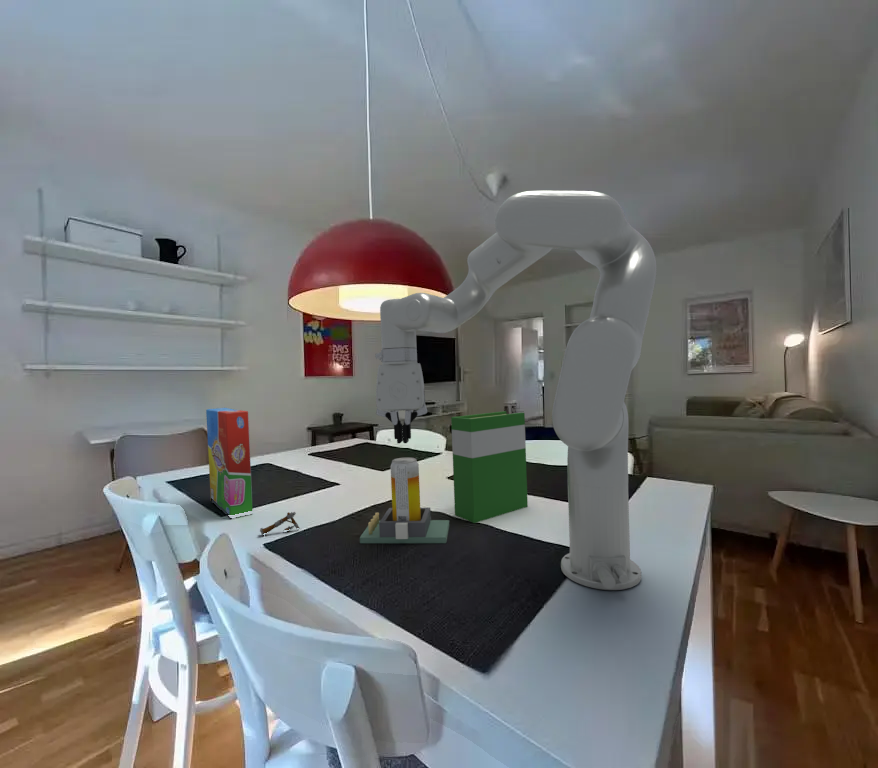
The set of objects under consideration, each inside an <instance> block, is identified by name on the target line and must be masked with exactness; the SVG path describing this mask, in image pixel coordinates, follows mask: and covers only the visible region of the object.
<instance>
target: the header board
mask: <svg viewBox="0 0 878 768" xmlns="http://www.w3.org/2000/svg"><path fill="white" fill-rule="evenodd" d="M420 511H421V521H393V513H392V507H388V509H387V510H386V512H385V513H384V515H383V516H382V518H381V519H380V513H379V512H374V513H375V515H372V518H371V519H370V521H368V525H367V526H366V528H365V530H363V533H362V534H361V535H360V537H359V544H447V541H448V536H449V531H450V520H449V519H447V520H446V519H432V517H431V515H432V514H431V513H432V512H431V507H420Z"/></svg>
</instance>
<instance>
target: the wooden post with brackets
mask: <svg viewBox="0 0 878 768" xmlns="http://www.w3.org/2000/svg"><path fill="white" fill-rule="evenodd" d="M286 513H287V514H286V515H285V517H283V518H280V519H279V520H277V521H276V522H274V523H273V524H271V525H269V526H267V527H265V528H263V527H261V528H260V529H259V532H260V533H261V535H262V534H264V533H267V532H268V533H269V532H271V531H272V530H274V529H275V528H278V527H279V526H281V525H282V524H284V523H286V522H288V523H291V524H293V525H291V526H290V525H288V527H286V528H284V530H289V529H291V530H292V529H294V528H296V529H297V528H299V529H300V526H299V524H298V523H297V521H296V520H295V518H294V517H295V516H296V511H293V512H292V511H291V512H286ZM284 530H283V531H284ZM268 533H267V534H268Z"/></svg>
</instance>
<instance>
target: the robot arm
mask: <svg viewBox="0 0 878 768" xmlns="http://www.w3.org/2000/svg"><path fill="white" fill-rule="evenodd" d="M628 221H629V220H628V219H627V218H626V216H625V212H624V210H623V207H622V206H621V205H620V203H619V202H618V201H617V200H616V198H614V197H612V196H610V195H608V194H606V193H603V192H600V191H593V190H589V191H588V190H527V191H526V190H525V191H522V192H517V193H514V194H513V195H511V196H509V197H508V198H507V199H505V200H504V201H503V203H501V204H500V206H499V208H498V209H497V211H496V214H495V218H494V226H495V231H496V232H495V233H493V234H492V235H490V236H489V237H488V238H487V239H486V240H485V241H484V242H483V241H482V243H481V244H480V245H478V246H477V247H475V249H472V250H471V252H469V253H468V255H467V259H466V260H467V262H466V263H467V266H468V272H467V275H466V277H465V278H464V280H463V282H462V283H461V284H460V285H458V286H457V287H456V288H455V289H454V290H453V291H451V292H450V293H448V294H447V295H445V296H444V297H442V296H438V295H434V294H429V293H426V292H416V293H412V294H409V295H406V296H405V297H402V298H393V299H392V298H390V299H387V300H384V301H382V302H381V304H380V307H379V314H380V315H379V316H380V338H381V340H380V341H381V349H380V352H377V353H375V356H374V357H375V360H379V361H381V364H378V367H377V373H376V375H377V376H376V385H375V386H376V388H375V389H376V390H375V404H376V413H375V414H376V415H377V416H379V417H383V418H386V419H387V420H388V421H390V422H391V424H392V425H393V437H394V440H396V444H398V445H399V444H401V443H402V442H403V444H408V442H409V441H410V440H411V439H412V426H411V424H412V422H414V420H415V419H416V418H417V417H419V416H423V415H426V414H427V413H428V408H427V405H426V393H425V392H426V391H425V383H424V382H425V381H424V376H423V371H422V370H423V369H422V365H421V363H420V362H419V363H418V353H417V352H418V350H417V331H420V332H431V333H436V334H437V333H438V334H446V333H448V332H452V331H454V330H455V329H457V328H459V327H460V326H462V325H463V324H464V323H466V322H468V321H469V320H470V319H472V318H473V317H475V316H476V315H477V314H478V313H479V312H480V311H481V310H482V309H483V308H484V307H485V305H486V304H487V303H488V302H489V300H490V299H491V298H492V296H493V295H494V293H495V292H496V291H497V290H498V289H499V288H501V287H503V285H505V284H506V283H508V282H509V281H510V280H512V279H513V278H515V277H516V276H517V275H518V274H520V273H522V272H523V271H524V270H526V269H528V268H529V267H530V266H532V265H533V264H535V263H536V262H537V261H538V260H540V259H541V258H543V257H545V256H546V255H547V254H548V253H550V251H552V250H553V249H555V250H556V249H558V250H567V251H575V253H576V254H578V256H580V257H581V258H582V259H583V260H584V261H585V262H587V263H589V264H591V265H592V266H594V267H596V268H597V270H598V272H599V280H598V282H597V286H596V287H595V288H596V289H595V292H594V296H593V303H592V308H591V311H590V314H589V318H587V319H585V320H584V321H582V322H581V323H580V324H579V325H578V326H576V327H575V329H574V330H573V332H572V333H571V335H570V337H569V339H568V340H567V345H566V347H565V351H564V355H563V359H562V364H561V369H560V373H559V378H558V382H557V386H556V390H555V396H554V400H553V406H552V410H551V422H552V427H553V430H554V432H555V434H556V436H557V437H558V439H559V440H560V441H561V442H562V443H563V444H564V445H566V446H567V460H566V461H567V462H566V463H567V468H566V469H567V499H568V508H567V509H568V531H569V534H568V535H569V553H566V554H565V555H564V556H563V557H562V558H561V561H560V568H561V572H562V573H563V575H565V576H566V577H567V578H568V579H569V580H571V581H573V582H574V583H577V584H579V585H581V586H585V587H588V588H592V589H597V590H603V591H621V590H628V589H630V588H633V587H635V586H636V585H638V584H640V582H641V580H642V571H641V568H640V566H639V565H638V564H637V563H636V562H635V561H634V560H632V559H631V541H630V540H631V539H630V508H629V507H630V506H629V458H628V457H629V412H628V408H627V407H628V406H627V405H626V402H625V398H626V395H627V390H628V387H629V383H630V379H631V374H632V370H633V369H634V368H635V367H636V365H637V364H638V362H639V360H640V357H641V354H642V344H643V340H644V334H645V331H646V330H645V329H646V327H647V320H648V318H649V314H650V309H651V303H652V298H653V293H654V288H655V284H656V278H657V260H656V255H655V252H654V249H653V248H652V246H651V244H650V242H649V241H648V240H647V239H646V238H645V237H644V236H643V235H642V233H640V232H639V231H638V230H637V229H635V228H634V227H633V226H631V224H630V223H629V222H628ZM399 411H404V421H403V423H402V422H401V420H400V419H401V418H400V414H399Z"/></svg>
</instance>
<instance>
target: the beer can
mask: <svg viewBox="0 0 878 768" xmlns="http://www.w3.org/2000/svg"><path fill="white" fill-rule="evenodd" d="M417 460H418V459H417V458H414V457H399V458H394V459H392V460H391V464H390V482H391V483H390V485H391V486H390V487H391V490H390V491H391V506H392V507H391V508H392V513H393V521H421V511H420V508H421V494H420V493H421V492H420V467H419V463H418V461H417Z"/></svg>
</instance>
